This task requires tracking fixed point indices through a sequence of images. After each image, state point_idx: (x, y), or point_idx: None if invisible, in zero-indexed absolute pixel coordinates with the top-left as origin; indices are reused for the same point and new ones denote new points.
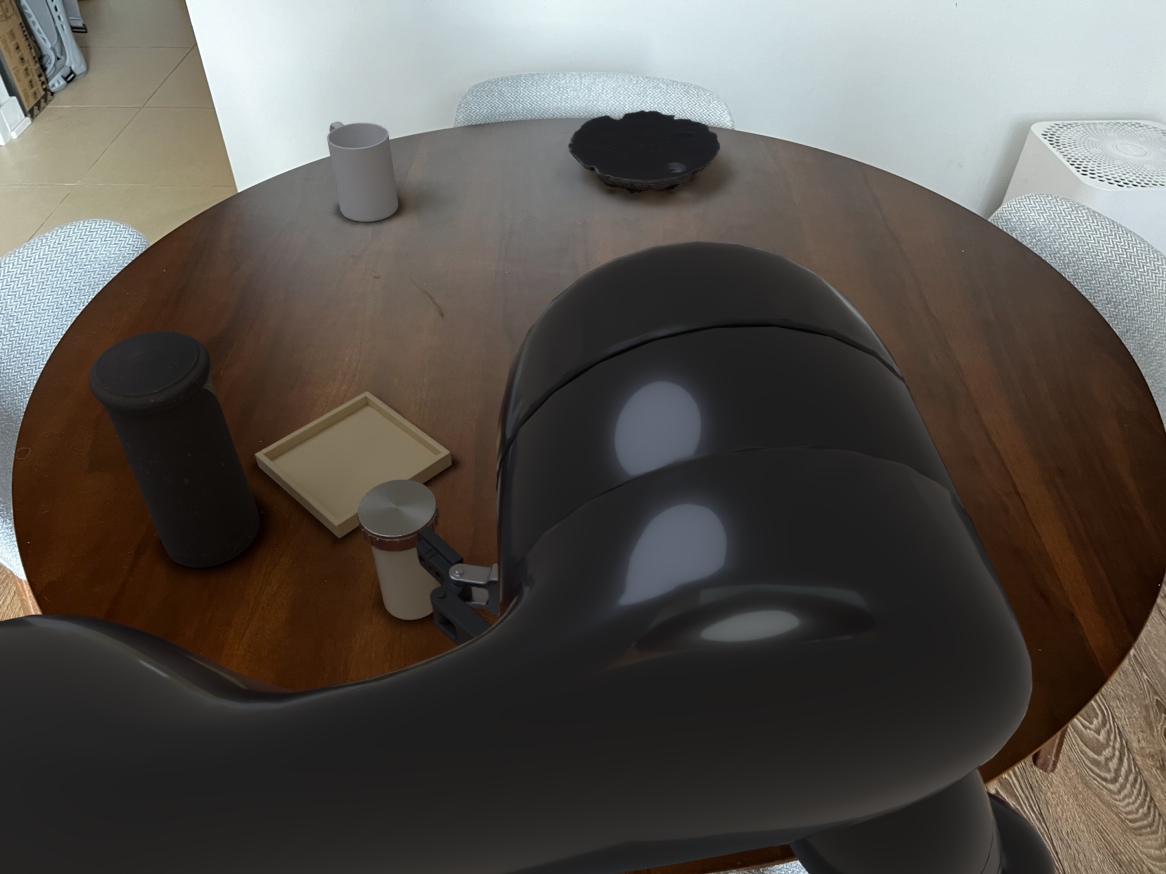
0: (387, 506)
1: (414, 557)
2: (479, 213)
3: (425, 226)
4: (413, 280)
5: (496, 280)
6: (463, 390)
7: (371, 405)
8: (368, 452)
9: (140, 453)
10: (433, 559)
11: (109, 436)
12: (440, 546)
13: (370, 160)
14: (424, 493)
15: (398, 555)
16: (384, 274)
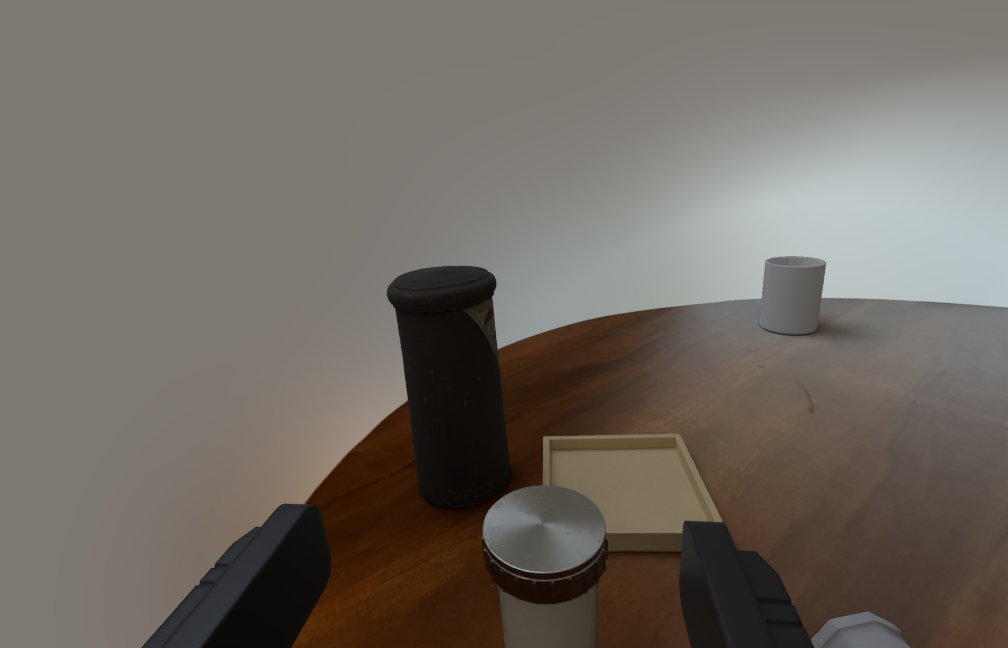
0: (534, 515)
1: (530, 620)
2: (905, 352)
3: (835, 348)
4: (796, 378)
5: (900, 404)
6: (794, 483)
7: (676, 449)
8: (640, 487)
9: (403, 355)
10: (200, 595)
11: None
12: (237, 570)
13: (798, 279)
14: (593, 529)
15: (509, 598)
16: (769, 366)
